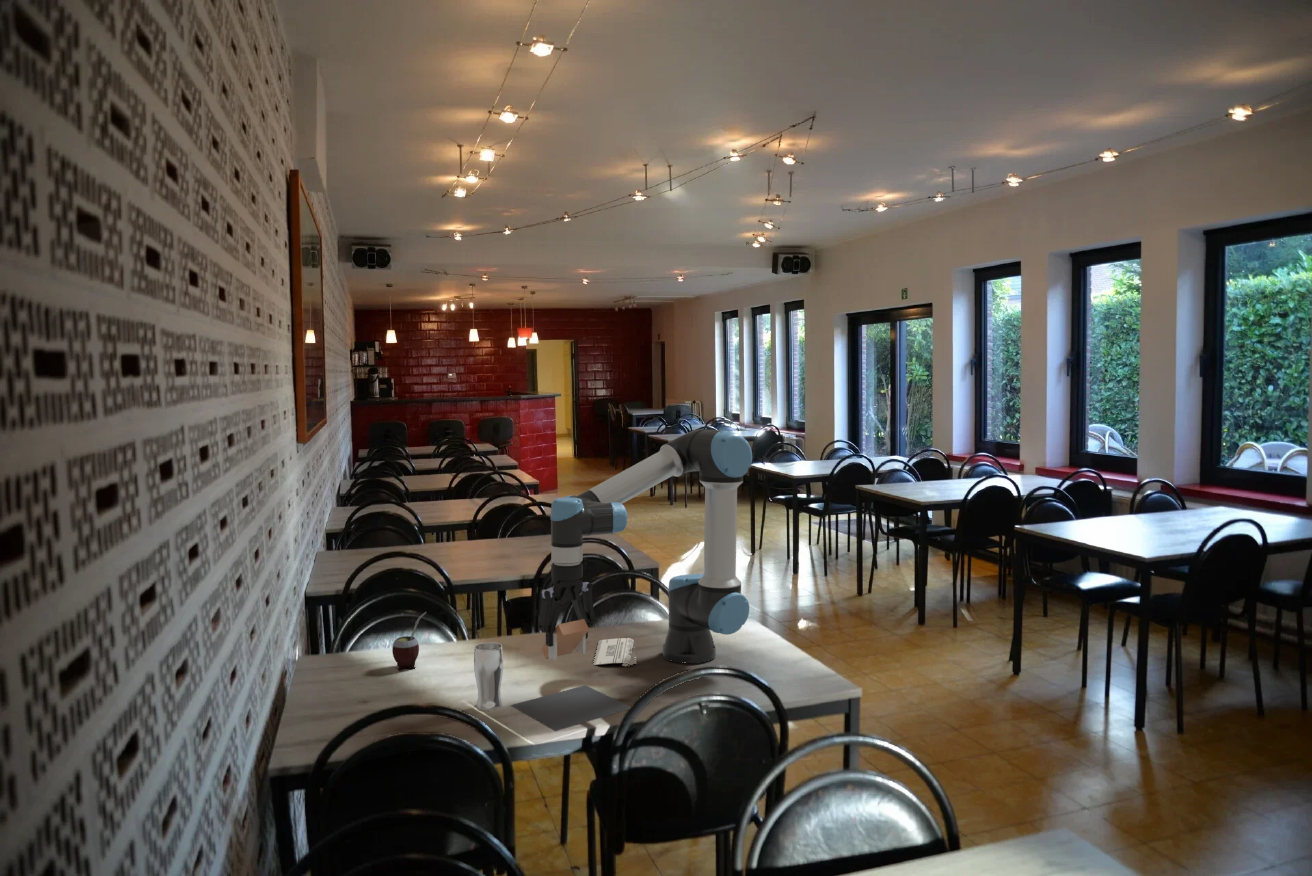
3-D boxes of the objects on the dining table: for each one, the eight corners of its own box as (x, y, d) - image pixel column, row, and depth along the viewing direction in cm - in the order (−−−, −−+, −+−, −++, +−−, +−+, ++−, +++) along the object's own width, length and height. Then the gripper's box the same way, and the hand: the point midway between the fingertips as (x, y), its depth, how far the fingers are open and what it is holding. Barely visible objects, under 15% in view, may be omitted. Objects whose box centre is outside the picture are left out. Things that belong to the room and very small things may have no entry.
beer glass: (505, 701, 223) (504, 641, 222) (501, 712, 216) (501, 650, 215) (477, 702, 222) (476, 642, 221) (472, 712, 216) (471, 650, 214)
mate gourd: (387, 669, 246) (385, 615, 245) (407, 661, 253) (406, 608, 252) (408, 673, 243) (406, 618, 242) (428, 665, 250) (427, 611, 249)
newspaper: (636, 669, 248) (635, 660, 248) (592, 673, 249) (591, 664, 248) (640, 643, 271) (639, 635, 271) (599, 647, 271) (598, 639, 271)
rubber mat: (585, 686, 233) (585, 685, 233) (633, 709, 218) (633, 707, 218) (510, 706, 219) (510, 705, 219) (555, 732, 204) (555, 731, 204)
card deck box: (566, 642, 227) (584, 618, 221) (571, 653, 226) (589, 629, 219) (540, 648, 223) (558, 624, 216) (545, 659, 221) (563, 635, 214)
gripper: (592, 554, 228) (592, 643, 230) (521, 565, 215) (522, 659, 217) (610, 559, 222) (610, 651, 224) (538, 571, 209) (539, 668, 211)
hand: (567, 655), depth 220 cm, fingers closed on card deck box, 7 cm apart
